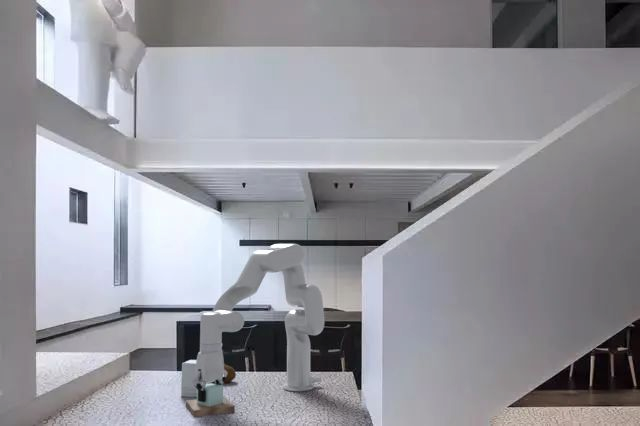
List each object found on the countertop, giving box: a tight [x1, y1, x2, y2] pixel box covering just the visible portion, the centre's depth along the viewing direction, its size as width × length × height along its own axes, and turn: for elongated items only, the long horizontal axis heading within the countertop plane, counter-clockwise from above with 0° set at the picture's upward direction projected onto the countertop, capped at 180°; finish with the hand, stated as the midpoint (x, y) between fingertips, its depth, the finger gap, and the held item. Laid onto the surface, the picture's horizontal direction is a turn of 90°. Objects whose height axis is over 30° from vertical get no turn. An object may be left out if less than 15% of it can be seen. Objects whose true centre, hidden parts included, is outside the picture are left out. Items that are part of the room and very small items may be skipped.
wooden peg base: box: [185, 395, 236, 418], centre depth 194 cm, size 14×14×6 cm
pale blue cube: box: [196, 382, 224, 407], centre depth 194 cm, size 6×6×6 cm
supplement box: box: [180, 359, 203, 398], centre depth 213 cm, size 7×7×13 cm
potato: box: [223, 363, 237, 384], centre depth 234 cm, size 8×12×8 cm, turn 91°
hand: (209, 398), depth 194 cm, fingers open, 7 cm apart
